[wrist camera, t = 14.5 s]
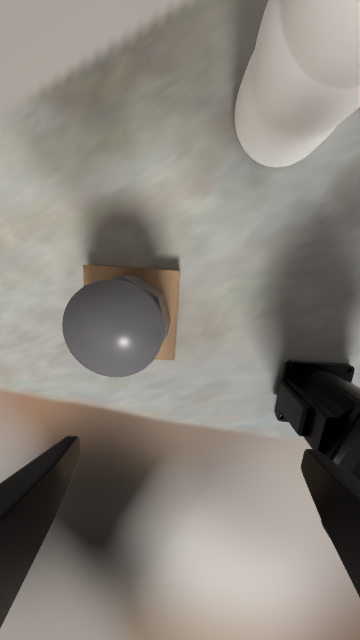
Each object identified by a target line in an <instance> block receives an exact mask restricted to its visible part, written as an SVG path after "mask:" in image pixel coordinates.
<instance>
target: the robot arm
mask: <svg viewBox="0 0 360 640" xmlns="http://www.w3.org/2000/svg"><path fill="white" fill-rule="evenodd" d="M290 365H293V366H292V367H291V368H289V367H290ZM348 368H349V369H348ZM347 369H348V370H347ZM346 370H347V371H346ZM353 374H354V367H353V366H351V365H349V364H339V363H322V362H305V361H288V362H286V364H285V367H284V372H283V377H282V381H281V383H280V386H279V391H278V397H277V402H276V405H277V409H276V414H275V416H276V418H277V419H278V420H279V421H282V422H289V423H290V424H291V426H292V427H293V429H294V430H295V431H296V433H297V434H298V435H299V436H303V437H304V438H305V440H306V441H307V442H308V443H309V445H310V446H311V448H312V449H306V450H305V451H304V455H303V459H302V464H301V470H302V473H303V476H304V478H305V481H306V483H307V486H308V488H309V491H310V493H311V496H312V498H313V501H314V503H315V505H316V508H317V511H318V513H319V515H320V518H321V522H322V525H323V527H324V529H325V530H326V533H327V534H328V535H329V537H330V539H331V540H332V542H333V544H334V546H335V548H336V550H337V552H338V554H339V556H340V558H341V560H342V562H343V565H344V567H345V569H346V570H347V573H348V574H349V577H350V579H351V580H352V583H353V585H354V587H355V589H356V590H357V593H358V594H359V597H360V388H359V387H357V386H355V385H354V384H352V383H351V381H352V378H353ZM281 415H282V416H281ZM280 416H281V417H280ZM79 458H80V439H79V437H78V436H71V435H70V436H67V437H65V438H64V439H62V440H61V441H59V442H58V443H57V444H55V445H54V446H52V447H51V448H50V449H48V450H47V451H45V452H44V453H43V454H41V455H40V456H38V457H37V458H35V459H34V460H33V461H31V462H30V463H28V464H27V465H26V466H24V467H23V468H21V469H20V470H19V471H17V472H16V473H14V474H13V475H11V476H10V477H9V478H7V479H6V480H4V481H3V482H2V483H0V628H1V626H2V624H3V622H4V620H5V618H6V616H7V614H8V612H9V609H10V608H11V606H12V604H13V602H14V599H15V598H16V596H17V594H18V592H19V589H20V587H21V585H22V583H23V581H24V579H25V577H26V575H27V573H28V571H29V569H30V567H31V565H32V563H33V561H34V559H35V557H36V555H37V553H38V551H39V549H40V547H41V545H42V543H43V541H44V539H45V537H46V535H47V533H48V531H49V529H50V527H51V525H52V523H53V521H54V519H55V517H56V515H57V512H58V510H59V508H60V506H61V504H62V501H63V499H64V497H65V494H66V491H67V489H68V486H69V484H70V481H71V478H72V476H73V474H74V471H75V468H76V466H77V463H78V461H79Z"/></svg>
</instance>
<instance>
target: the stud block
mask: <svg viewBox="0 0 360 640" xmlns="http://www.w3.org/2000/svg"><path fill="white" fill-rule="evenodd" d="M83 271H84V285H88V284H91V283H94V282H97V281H102V280H108V279H113V278H117V277H121V276H132V275H136V276H138V277H140V278H141V279H143V280H145V281H146V282H148V283H149V284H151V285H153V286H154V287H156V288H157V289H159V290H161V291H162V292H163V293H164V297H165V301H166V305H167V309H168V313H169V317H170V321H171V322H170V327H169V331H168V336H167V337H166V339H165V340H164V342H163V344H162V345H161V348H160V350H159V352H158V354H157V356H156V357H155V359H160V360H174V359H175V343H176V327H177V310H178V294H179V277H180V271H174V270H158V269H143V268H127V267H111V266H96V265H83Z"/></svg>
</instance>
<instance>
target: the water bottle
mask: <svg viewBox="0 0 360 640" xmlns="http://www.w3.org/2000/svg"><path fill="white" fill-rule="evenodd" d="M359 107H360V0H268V2H267V5H266V8H265V12H264V15H263V18H262V21H261V25H260V29H259V32H258V36H257V41H256V46H255V50H254V52H253V54H252V56H251V58H250V61H249V63H248V66H247V68H246V71H245V74H244V76H243V79H242V82H241V85H240V88H239V92H238V95H237V99H236V105H235V117H234V119H235V129H236V133H237V137H238V139H239V142H240V144H241V146H242V148H243V149H244V151H245V152H246V153H247V154H248V155H249V156H250V157H251V158H252V159H253V160H254V161H256V162H258V163H259V164H262V165H264V166H268V167H285V166H289V165H292V164H294V163H297V162H299V161H300V160H302V159H303V158H305V157H306V156H308V155H309V154H310V153H311V152H312V151H313V150H314V149H316V148H317V147H318V146H319V145H320V144H321V143H322V142H323V141H324V140H325V139H326V138H327V137H328V136H329V135H330V134H331V132H332V131H333V130H334V129H335V128H336V127H337V126H338V124H339V123H340V122H341V121H343V120H344V119H346V118H347V117H348V116H350V115H351V114H352V113H353V112H355V111H356V110H357V109H358V108H359Z"/></svg>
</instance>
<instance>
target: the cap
mask: <svg viewBox="0 0 360 640" xmlns="http://www.w3.org/2000/svg"><path fill="white" fill-rule="evenodd" d="M170 322H171V321H170V317H169V313H168V309H167V305H166V301H165V297H164V293H163V292H162V291H161V290H159V289H157V288H156V287H154V286H153V285H151V284H149V283H148V282H146V281H145V280H143V279H141V278H140V277H138V276H136V275H132V276H121V277H117V278H113V279H108V280H102V281H97V282H94V283H91V284H88V285H84V286H83V288H82V289H80V290H79V291H78V292H77V293H75V294H74V296H73V297H72V298H71V299H70V301H69V303H68V304H67V306H66V309H65V312H64V315H63V323H62V325H63V335H64V338H65V342H66V344H67V346H68V348H69V350H70V352H71V353H72V355H73V356H74V357H75V358H76V359H77V360H78V361H79V362H80V363H81V364H82V365H83V366H84V367H86V368H88V369H89V370H91V371H93V372H95V373H97V374H100V375H104V376H109V377H124V376H129V375H133V374H135V373H137V372H140V371H141V370H143V369H144V368H146V367H147V366H148V365H149V364H150V363H151V362H152V361H153V360H154V359H155V357H156V356H157V354H158V352H159V350H160V348H161V345H162V344H163V342H164V340H165V339H166V337H167V336H168V331H169V327H170Z"/></svg>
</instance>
